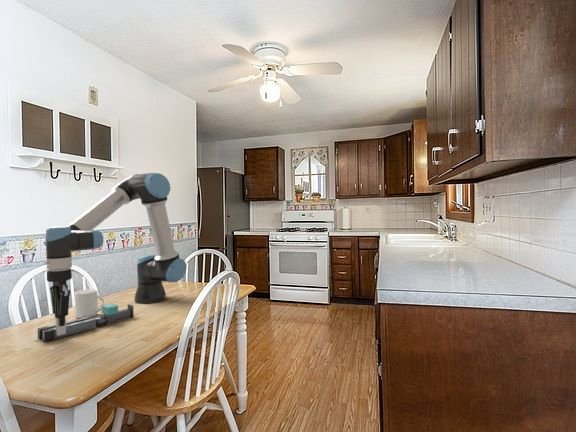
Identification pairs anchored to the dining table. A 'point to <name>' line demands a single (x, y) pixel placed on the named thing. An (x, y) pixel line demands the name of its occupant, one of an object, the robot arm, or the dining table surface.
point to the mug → (87, 303)
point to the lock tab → (109, 309)
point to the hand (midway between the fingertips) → (61, 334)
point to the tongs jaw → (69, 329)
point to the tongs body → (99, 319)
